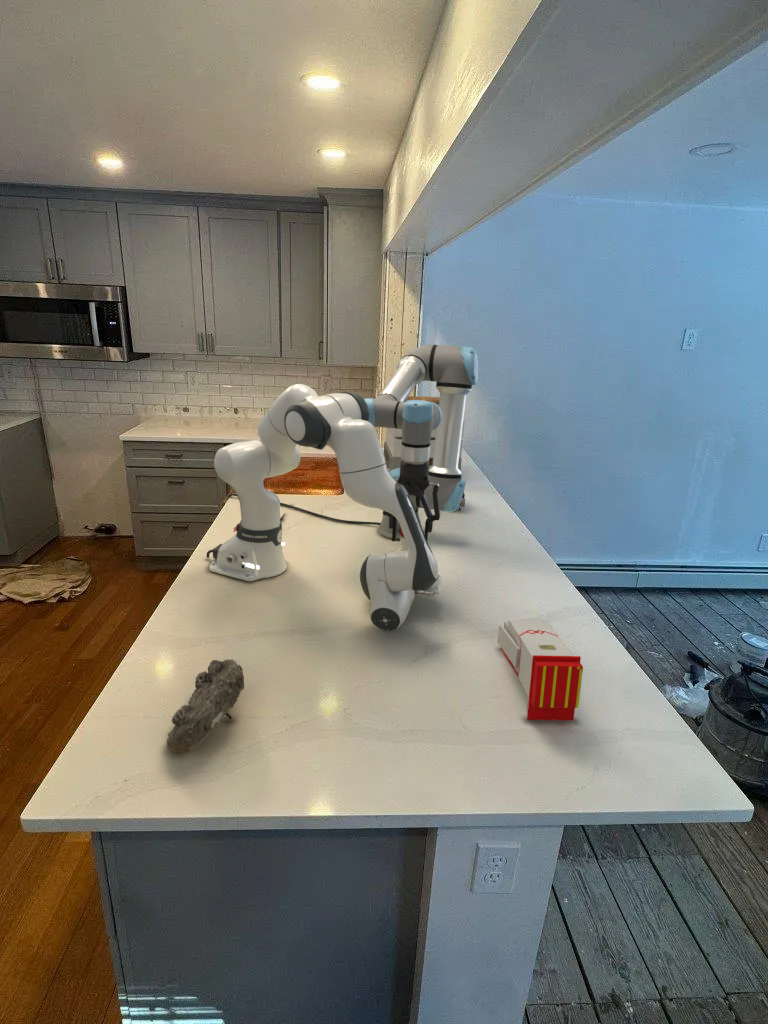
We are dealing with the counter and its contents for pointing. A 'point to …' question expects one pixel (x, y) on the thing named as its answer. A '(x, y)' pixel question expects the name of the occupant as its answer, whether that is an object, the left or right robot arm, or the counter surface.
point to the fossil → (206, 705)
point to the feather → (281, 518)
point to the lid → (401, 532)
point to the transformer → (395, 440)
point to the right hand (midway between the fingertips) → (409, 541)
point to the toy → (542, 668)
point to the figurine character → (462, 502)
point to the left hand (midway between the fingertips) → (408, 568)
